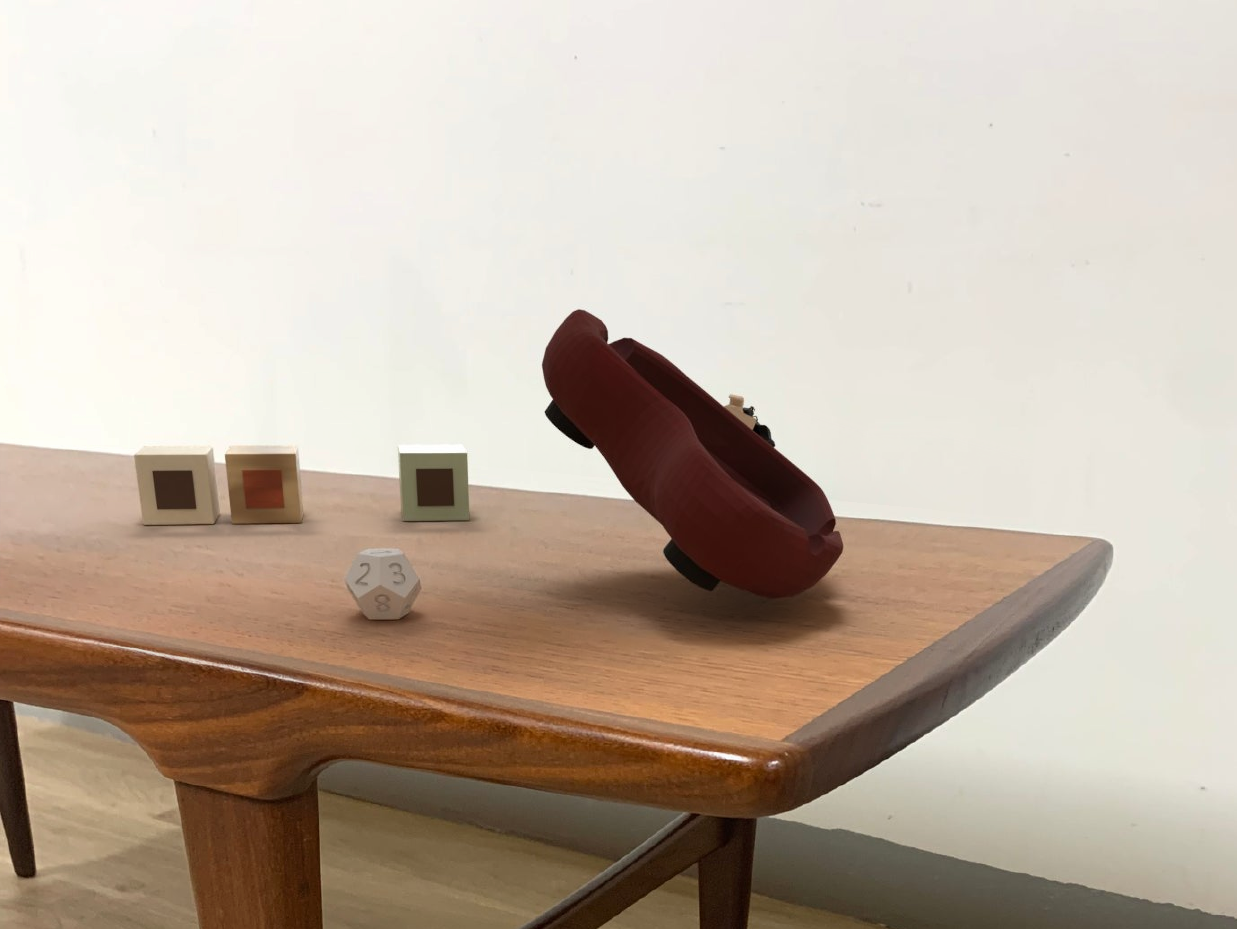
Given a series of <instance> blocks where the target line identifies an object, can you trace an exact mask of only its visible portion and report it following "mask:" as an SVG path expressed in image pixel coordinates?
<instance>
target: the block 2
mask: <svg viewBox="0 0 1237 929" xmlns="http://www.w3.org/2000/svg"><path fill="white" fill-rule="evenodd" d="M299 452H300V451H299V446H298V445H230V446H229V447H228V449H227V450H226V451H225V453H224V460H225V470H226V480H227V488H228V489H227V490H228V498H229V507H230V508H229V510H230V518H231V524H233V525H239V524H240V525H245V524H246V525H247V524H249V525H250V524H251V525H252V524H253V525H254V524H255V525H256V524H301V523H302V521H303V516H304V500H303V488H302V487H303V486H302V478H301V476H302V475H301V465H300V453H299Z"/></svg>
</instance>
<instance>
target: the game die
mask: <svg viewBox="0 0 1237 929" xmlns="http://www.w3.org/2000/svg"><path fill="white" fill-rule="evenodd" d="M343 580H344V582H345V586H346V588H347V591H348V592H349V593H350V596H351V597H352V598H353V600H354V601H355V604H357V606H358V608H359V609H360V611H361V613H362V615H364V616H365V617H366V618H367V619H368V620H399V619H401V618H403V617H405V616H406V615H408V614H409V613H410V611H411V610H412V607H413V606H414V603H415V602H416V600H417V598H418V597H419V594H420V593H421V591H422V583H421V578H420V577H419V575H418V574H417V572H416V571H415V569H414V567H413V566H412V564H411V562H410V561H409V559H408V558H407V556H406V554H405V553H404V552H403V551H401V550H400V549H398V548H367V549H365V550H363V551H359V552H358V553H357V554H356V555H355V557H354V559H353V561H352V563H351V565H350V567H349V569H348V570H347V572H346V575H345V577H344V578H343Z"/></svg>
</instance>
